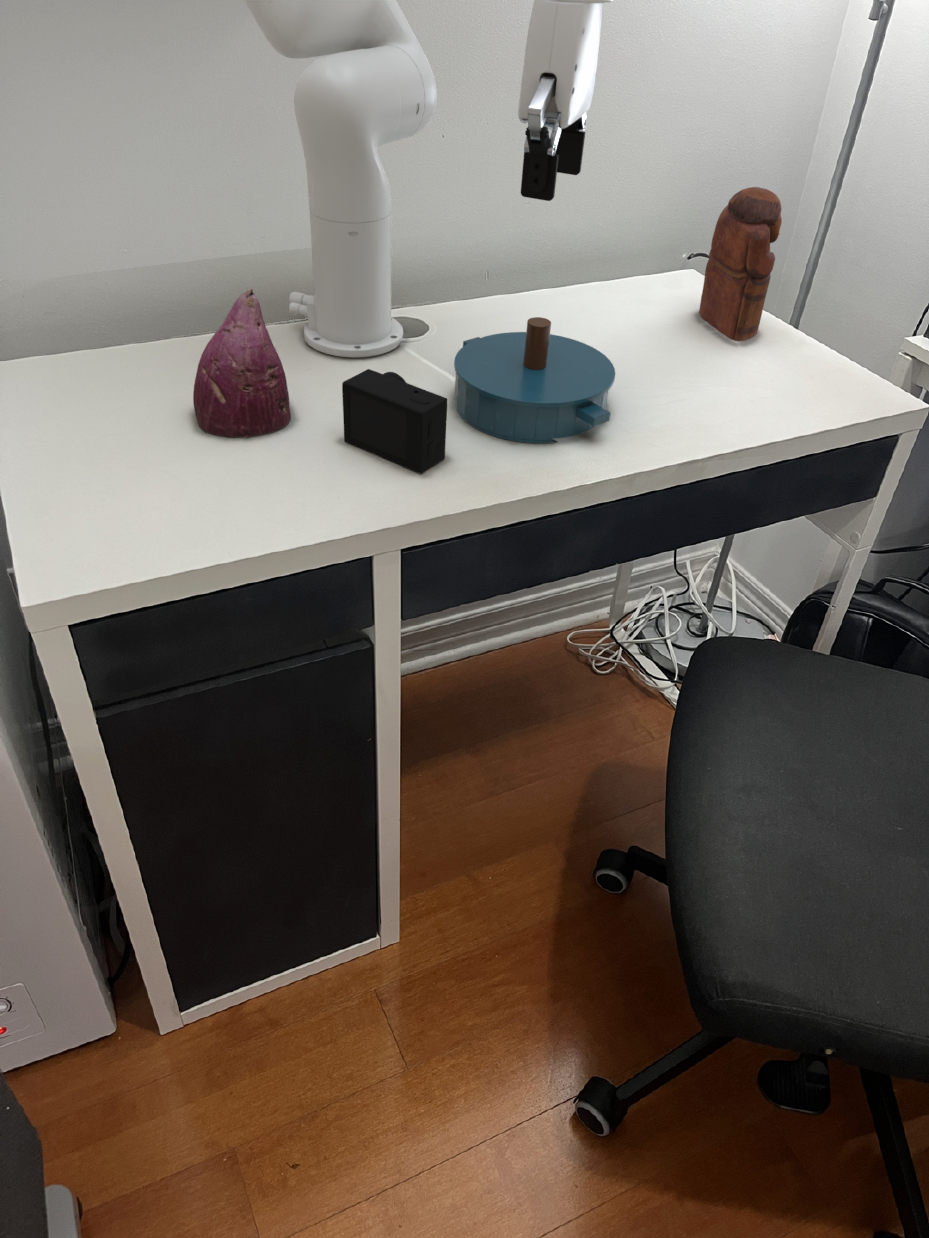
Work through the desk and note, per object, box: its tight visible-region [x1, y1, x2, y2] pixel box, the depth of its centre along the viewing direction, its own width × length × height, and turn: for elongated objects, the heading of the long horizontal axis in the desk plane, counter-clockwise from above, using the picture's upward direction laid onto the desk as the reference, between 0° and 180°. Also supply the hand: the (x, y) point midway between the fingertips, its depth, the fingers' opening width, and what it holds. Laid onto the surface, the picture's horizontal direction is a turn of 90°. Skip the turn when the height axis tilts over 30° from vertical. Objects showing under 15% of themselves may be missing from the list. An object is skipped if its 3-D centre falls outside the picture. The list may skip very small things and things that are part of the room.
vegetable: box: [192, 287, 292, 439], centre depth 101 cm, size 10×10×15 cm
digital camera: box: [341, 368, 448, 475], centre depth 98 cm, size 10×5×7 cm, turn 55°
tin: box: [453, 336, 611, 444], centre depth 107 cm, size 17×23×5 cm
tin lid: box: [453, 316, 616, 407], centre depth 104 cm, size 18×18×6 cm
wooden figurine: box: [698, 186, 783, 342], centre depth 124 cm, size 12×6×18 cm, turn 19°
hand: (551, 185), depth 94 cm, fingers open, 9 cm apart
